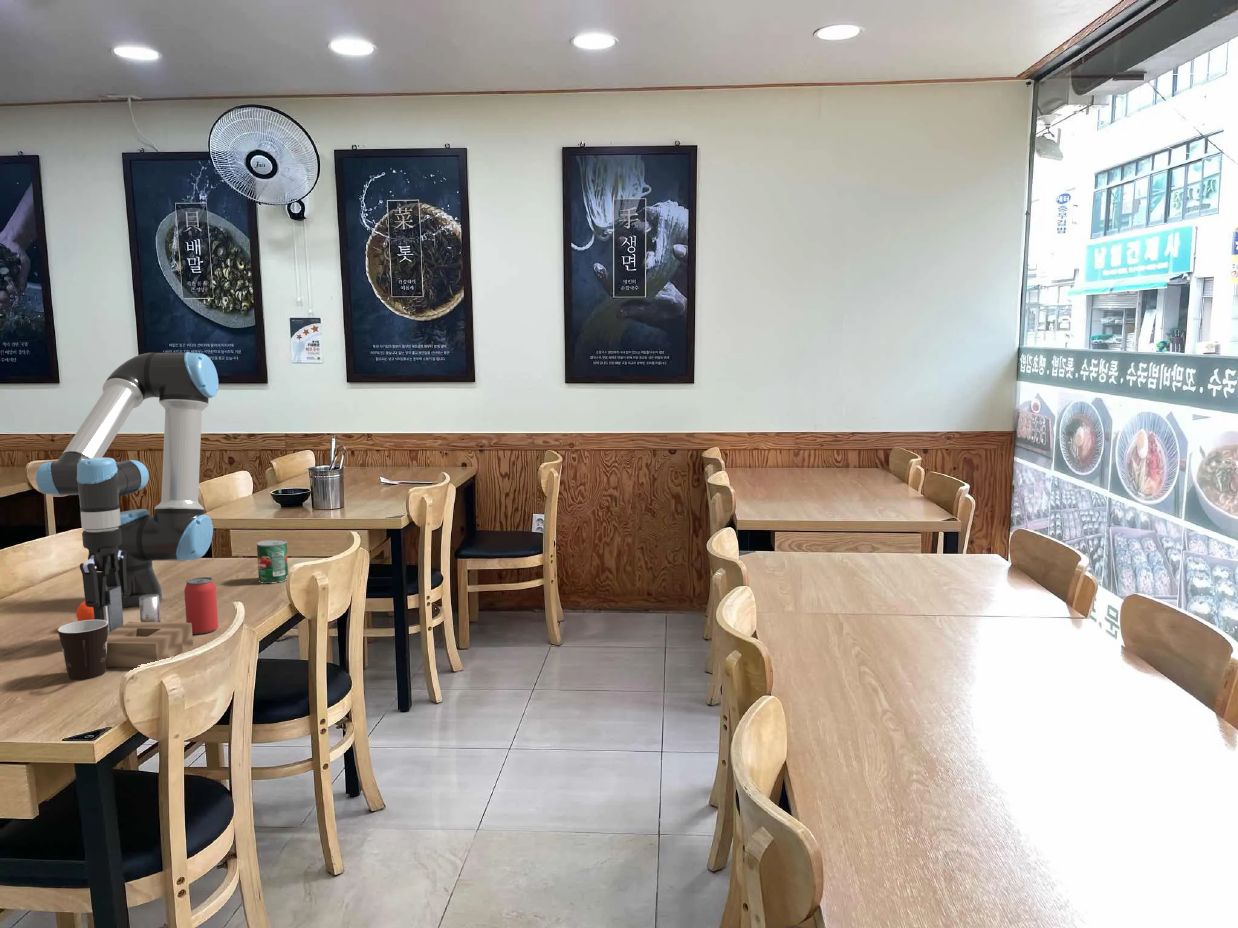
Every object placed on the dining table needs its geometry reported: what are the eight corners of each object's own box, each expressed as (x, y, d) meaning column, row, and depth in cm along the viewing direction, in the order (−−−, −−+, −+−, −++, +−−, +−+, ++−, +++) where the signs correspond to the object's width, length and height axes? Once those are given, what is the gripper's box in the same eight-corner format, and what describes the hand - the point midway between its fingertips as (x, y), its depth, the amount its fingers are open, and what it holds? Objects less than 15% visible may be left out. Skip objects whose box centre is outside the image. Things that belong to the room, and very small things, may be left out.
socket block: (131, 643, 197) (129, 622, 197) (193, 644, 197) (191, 622, 196) (91, 666, 183) (89, 642, 183) (157, 667, 183) (155, 643, 182)
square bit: (107, 637, 202) (103, 585, 200) (124, 637, 201) (120, 585, 200) (96, 643, 198) (91, 590, 196) (113, 643, 197) (109, 590, 196)
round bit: (148, 636, 202) (145, 593, 201) (165, 637, 202) (162, 594, 201) (138, 642, 198) (134, 598, 197) (155, 642, 198) (152, 599, 197)
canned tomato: (252, 582, 249) (250, 544, 247) (271, 576, 256) (269, 538, 255) (276, 584, 246) (274, 545, 245) (294, 577, 254) (292, 540, 252)
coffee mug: (75, 667, 183) (71, 620, 181) (119, 666, 183) (116, 619, 182) (44, 688, 171) (40, 638, 170) (91, 687, 172) (87, 637, 171)
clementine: (80, 623, 212) (78, 594, 211) (113, 620, 215) (111, 591, 214) (75, 633, 205) (72, 603, 204) (109, 629, 208) (107, 599, 207)
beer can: (198, 636, 202) (194, 585, 201) (181, 631, 206) (177, 581, 204) (224, 629, 208) (221, 578, 206) (207, 624, 211) (204, 574, 210)
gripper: (108, 520, 205) (116, 619, 208) (59, 536, 188) (68, 643, 191) (140, 521, 204) (147, 619, 208) (93, 536, 188) (102, 644, 191)
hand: (109, 631), depth 199 cm, fingers closed on square bit, 4 cm apart
